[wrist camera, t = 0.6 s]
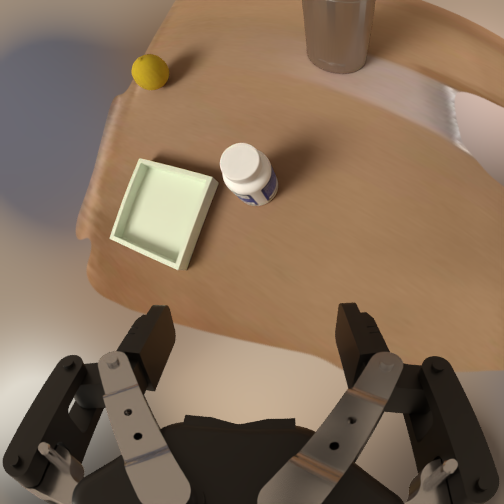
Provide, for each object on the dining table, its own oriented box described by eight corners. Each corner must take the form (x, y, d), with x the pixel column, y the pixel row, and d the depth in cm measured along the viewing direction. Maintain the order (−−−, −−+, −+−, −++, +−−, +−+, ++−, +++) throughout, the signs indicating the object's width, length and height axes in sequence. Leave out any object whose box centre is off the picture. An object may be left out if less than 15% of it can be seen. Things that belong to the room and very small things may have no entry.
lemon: (143, 87, 40) (119, 63, 32) (169, 68, 40) (147, 41, 32) (154, 103, 39) (128, 78, 32) (181, 83, 39) (159, 54, 31)
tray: (148, 163, 39) (139, 158, 36) (218, 182, 36) (212, 177, 34) (120, 240, 39) (109, 238, 36) (186, 270, 36) (178, 270, 34)
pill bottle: (267, 160, 35) (254, 128, 26) (285, 195, 34) (276, 171, 25) (230, 178, 36) (206, 151, 27) (246, 213, 35) (224, 195, 26)
